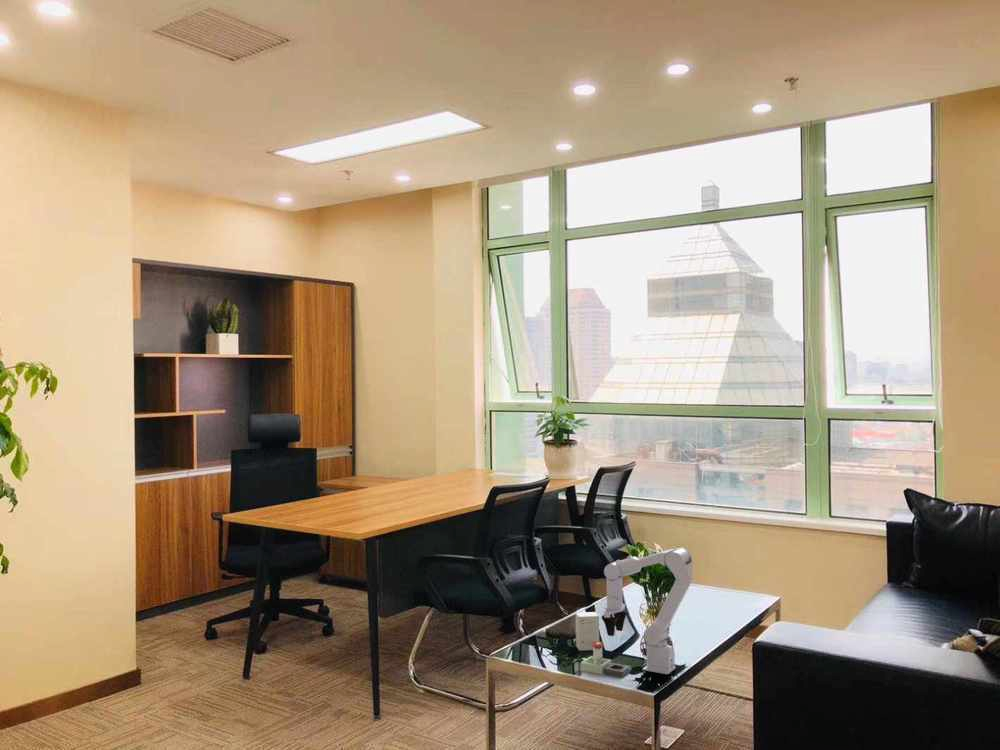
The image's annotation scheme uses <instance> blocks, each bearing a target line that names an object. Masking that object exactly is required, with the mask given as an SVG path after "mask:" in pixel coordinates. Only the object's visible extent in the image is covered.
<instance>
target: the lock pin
mask: <svg viewBox="0 0 1000 750" xmlns="http://www.w3.org/2000/svg"><path fill="white" fill-rule="evenodd" d="M592 646H593V650H592V651H593V653H592V654H593V655H592V656H593V664H596V665H602V658H603V648H604V642H603V641H600V640H599V641H595V642H592Z"/></svg>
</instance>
